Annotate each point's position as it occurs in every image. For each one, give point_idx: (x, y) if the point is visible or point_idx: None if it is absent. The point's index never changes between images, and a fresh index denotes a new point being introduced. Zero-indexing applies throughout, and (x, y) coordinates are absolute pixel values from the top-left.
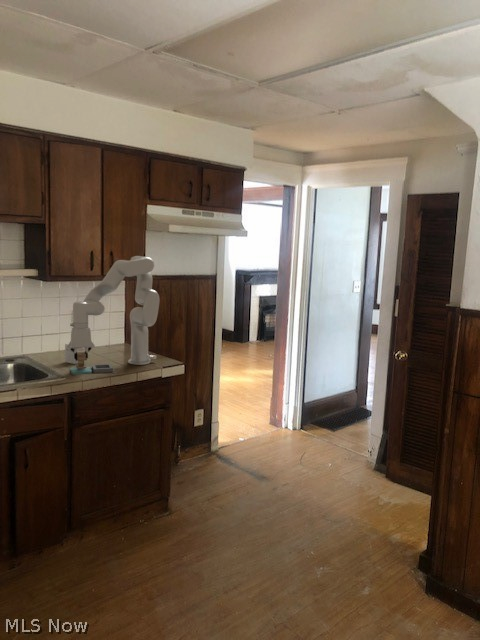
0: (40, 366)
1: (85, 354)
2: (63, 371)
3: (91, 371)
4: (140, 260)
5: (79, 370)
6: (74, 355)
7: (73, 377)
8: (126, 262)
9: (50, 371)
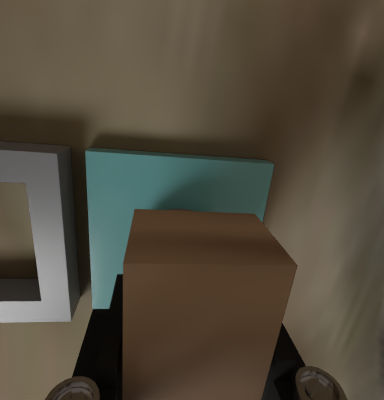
0: (376, 381)
1: (130, 273)
2: (298, 258)
3: (90, 151)
4: None
5: (196, 210)
6: (292, 343)
7: (283, 39)
8: None
9: (373, 276)
